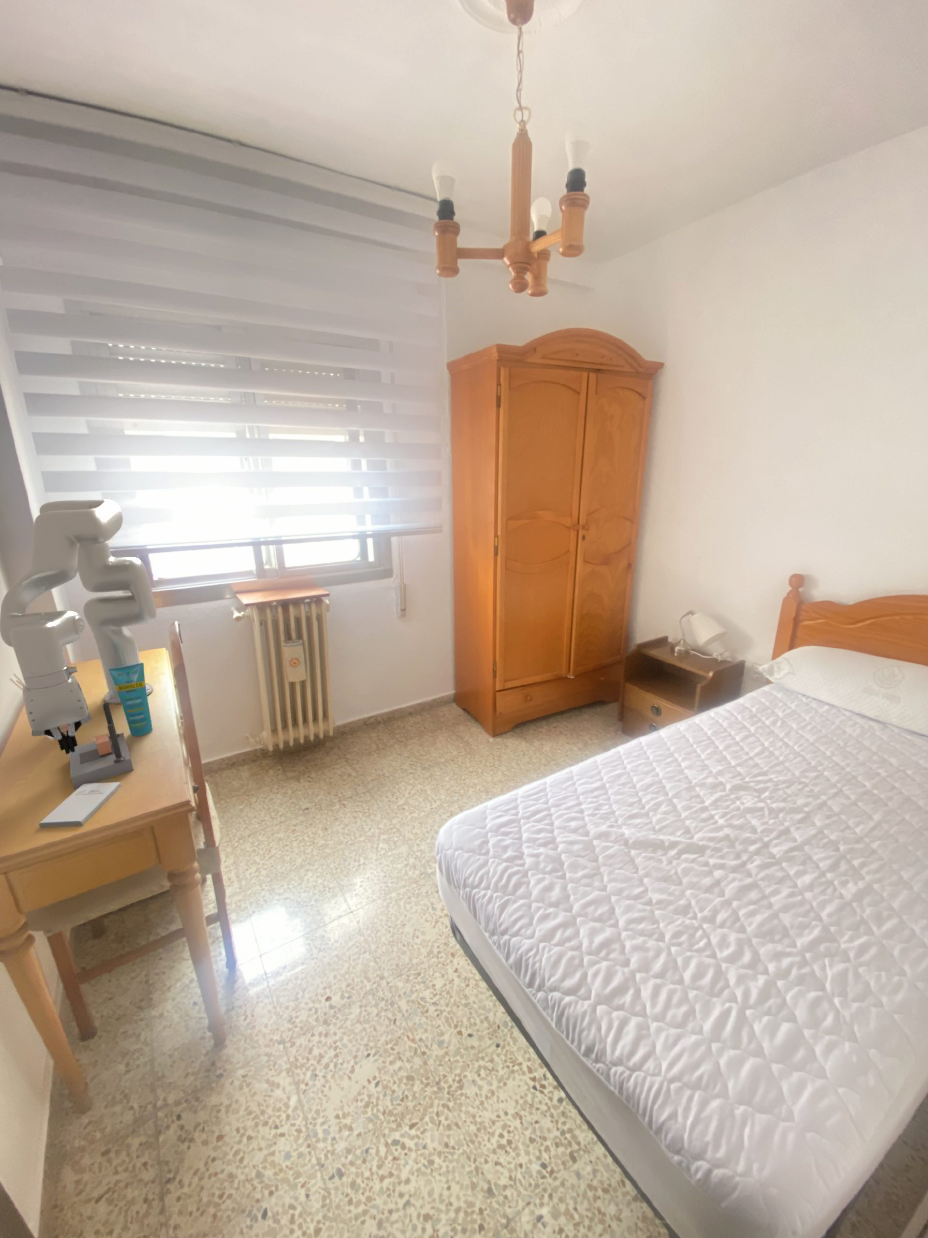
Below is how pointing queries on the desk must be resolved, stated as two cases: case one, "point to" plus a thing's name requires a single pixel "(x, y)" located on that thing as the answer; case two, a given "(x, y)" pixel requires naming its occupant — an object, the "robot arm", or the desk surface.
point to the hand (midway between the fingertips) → (70, 750)
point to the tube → (133, 697)
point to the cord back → (108, 714)
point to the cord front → (114, 741)
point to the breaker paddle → (103, 744)
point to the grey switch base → (98, 763)
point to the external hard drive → (80, 805)
